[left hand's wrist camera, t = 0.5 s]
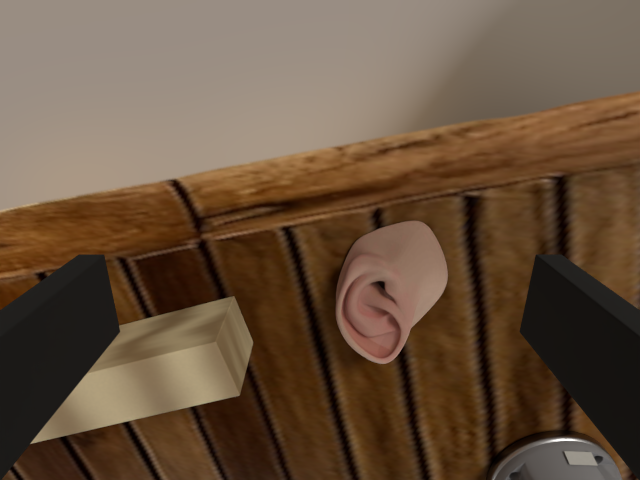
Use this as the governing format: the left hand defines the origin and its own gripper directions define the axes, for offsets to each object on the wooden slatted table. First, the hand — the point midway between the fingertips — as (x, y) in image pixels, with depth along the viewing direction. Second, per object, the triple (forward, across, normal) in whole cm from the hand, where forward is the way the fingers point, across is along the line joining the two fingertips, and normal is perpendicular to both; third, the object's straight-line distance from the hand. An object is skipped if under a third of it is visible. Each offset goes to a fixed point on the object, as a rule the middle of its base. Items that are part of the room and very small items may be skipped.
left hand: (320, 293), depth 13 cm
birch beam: (+26, +24, +22) cm, 42 cm away
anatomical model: (+26, -7, +13) cm, 30 cm away
